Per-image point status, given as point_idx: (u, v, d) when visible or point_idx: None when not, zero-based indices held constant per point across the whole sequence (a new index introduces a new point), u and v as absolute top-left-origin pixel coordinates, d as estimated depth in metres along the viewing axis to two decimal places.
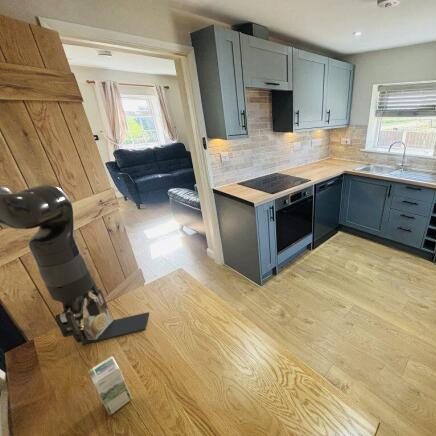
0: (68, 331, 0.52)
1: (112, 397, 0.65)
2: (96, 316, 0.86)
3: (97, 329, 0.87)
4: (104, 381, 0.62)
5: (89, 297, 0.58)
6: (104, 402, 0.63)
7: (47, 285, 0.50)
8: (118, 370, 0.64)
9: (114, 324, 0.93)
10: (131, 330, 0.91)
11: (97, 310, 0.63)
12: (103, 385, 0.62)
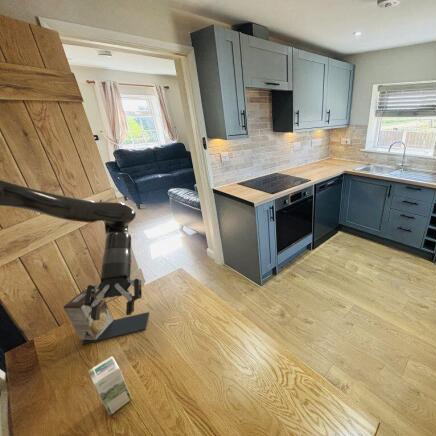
0: None
1: (112, 397, 0.65)
2: None
3: (97, 329, 0.87)
4: (104, 381, 0.62)
5: None
6: (104, 402, 0.63)
7: (124, 261, 0.75)
8: (118, 370, 0.64)
9: (114, 324, 0.93)
10: (131, 330, 0.91)
11: (99, 314, 0.71)
12: (103, 385, 0.62)
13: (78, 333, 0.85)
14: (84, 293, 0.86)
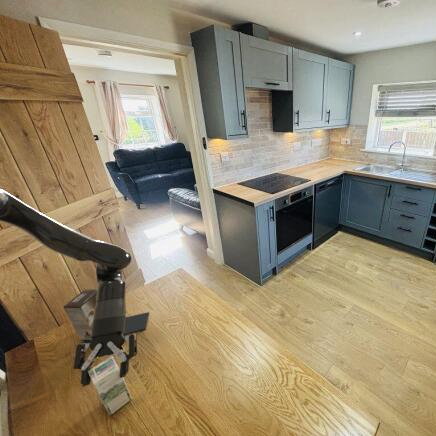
0: None
1: (112, 397, 0.65)
2: None
3: None
4: (104, 381, 0.62)
5: None
6: (104, 402, 0.63)
7: (118, 315, 0.68)
8: (118, 370, 0.64)
9: None
10: (131, 330, 0.91)
11: (90, 377, 0.64)
12: (103, 385, 0.62)
13: (78, 333, 0.85)
14: (84, 293, 0.86)
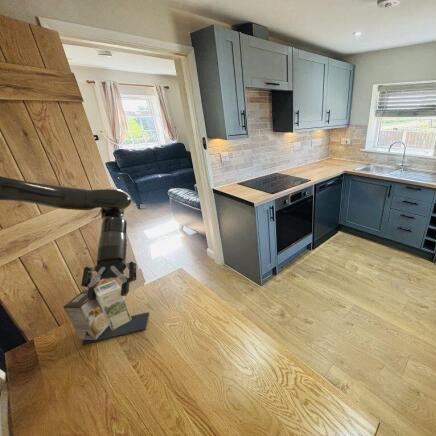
0: None
1: (115, 313, 0.74)
2: (96, 316, 0.86)
3: (97, 329, 0.87)
4: (107, 296, 0.71)
5: None
6: (107, 316, 0.73)
7: (119, 245, 0.77)
8: (119, 289, 0.73)
9: None
10: (131, 330, 0.91)
11: (95, 295, 0.74)
12: (107, 300, 0.72)
13: (78, 333, 0.85)
14: (84, 293, 0.86)
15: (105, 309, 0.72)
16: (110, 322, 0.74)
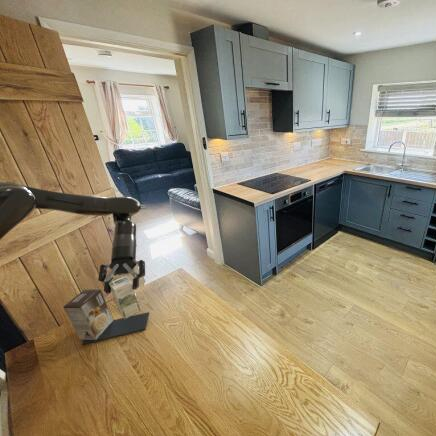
0: None
1: (127, 304, 0.86)
2: (96, 316, 0.86)
3: (97, 329, 0.87)
4: (121, 289, 0.83)
5: None
6: (121, 307, 0.85)
7: (130, 245, 0.89)
8: (131, 283, 0.85)
9: (114, 324, 0.93)
10: (131, 330, 0.91)
11: (110, 289, 0.85)
12: (120, 292, 0.83)
13: (78, 333, 0.85)
14: (84, 293, 0.86)
15: (119, 300, 0.84)
16: (123, 312, 0.86)
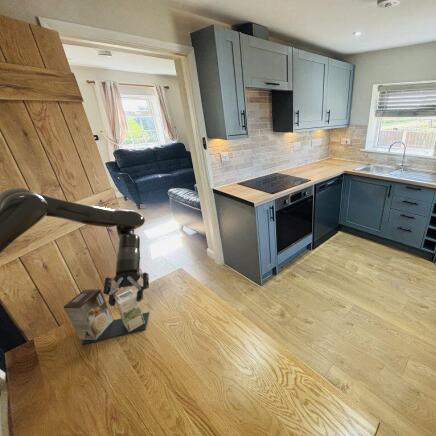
0: None
1: (131, 317, 0.89)
2: (96, 316, 0.86)
3: (97, 329, 0.87)
4: (126, 303, 0.86)
5: None
6: (125, 320, 0.88)
7: (134, 258, 0.92)
8: (136, 297, 0.88)
9: (114, 324, 0.93)
10: None
11: None
12: (125, 306, 0.86)
13: (78, 333, 0.85)
14: (84, 293, 0.86)
15: (124, 314, 0.86)
16: (127, 325, 0.89)
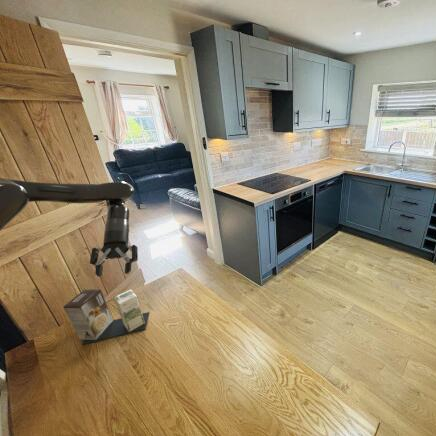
0: None
1: (131, 317, 0.89)
2: (96, 316, 0.86)
3: (97, 329, 0.87)
4: (126, 303, 0.86)
5: None
6: (125, 320, 0.88)
7: (123, 230, 0.89)
8: (136, 297, 0.88)
9: (114, 324, 0.93)
10: None
11: None
12: (125, 307, 0.86)
13: (78, 333, 0.85)
14: (84, 293, 0.86)
15: (124, 314, 0.86)
16: (127, 325, 0.89)
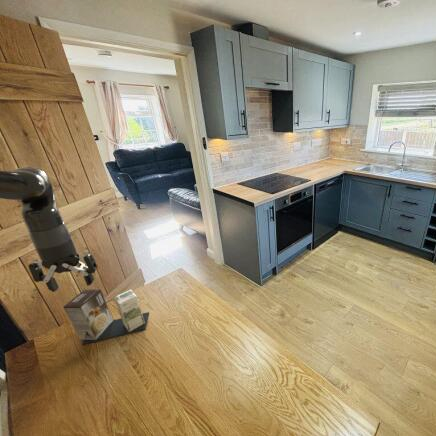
0: None
1: (131, 317, 0.89)
2: (96, 316, 0.86)
3: (97, 329, 0.87)
4: (126, 303, 0.86)
5: None
6: (125, 320, 0.88)
7: (62, 243, 0.65)
8: (136, 297, 0.88)
9: (114, 324, 0.93)
10: None
11: (56, 284, 0.71)
12: (125, 307, 0.86)
13: (78, 333, 0.85)
14: (84, 293, 0.86)
15: (124, 314, 0.86)
16: (127, 325, 0.89)
